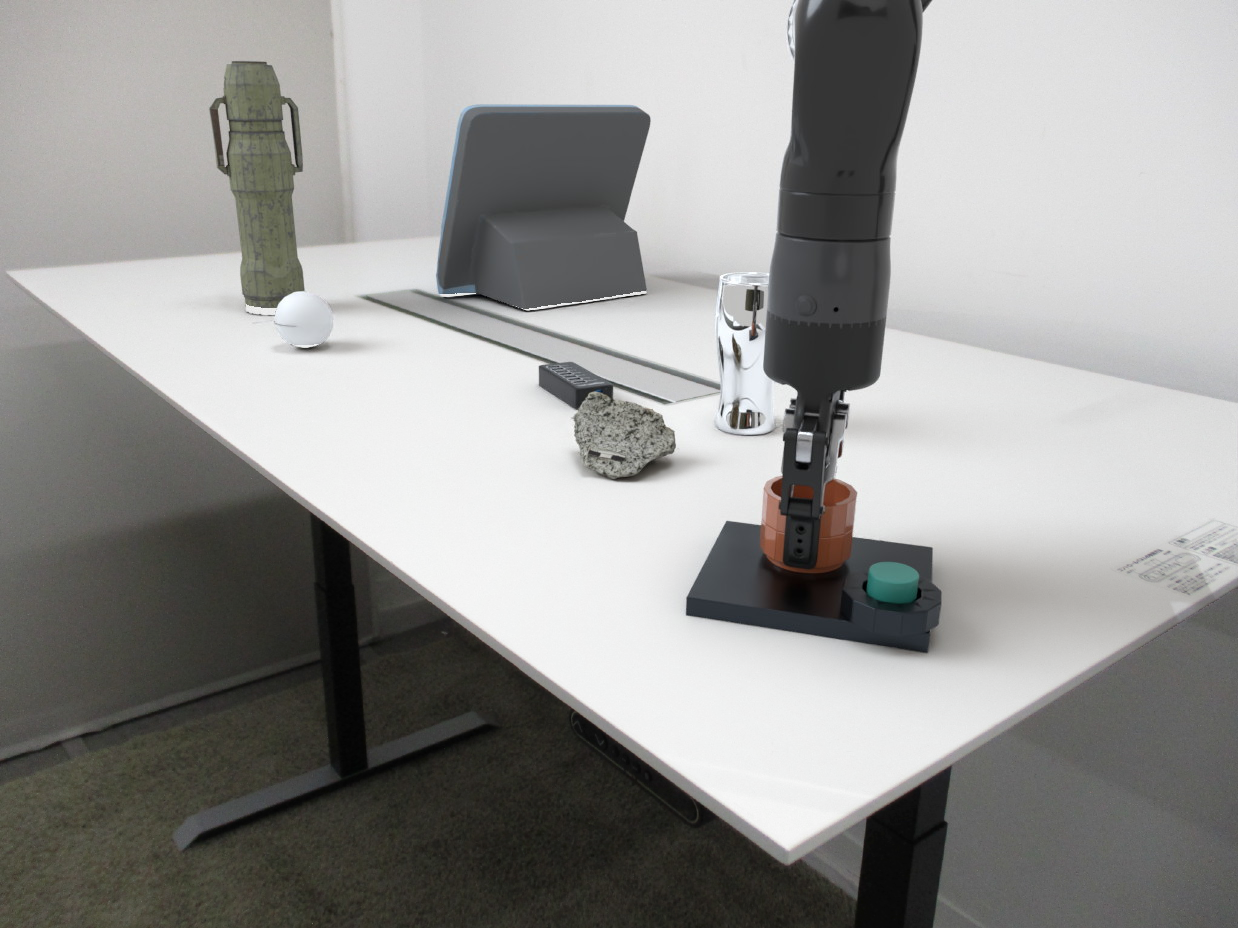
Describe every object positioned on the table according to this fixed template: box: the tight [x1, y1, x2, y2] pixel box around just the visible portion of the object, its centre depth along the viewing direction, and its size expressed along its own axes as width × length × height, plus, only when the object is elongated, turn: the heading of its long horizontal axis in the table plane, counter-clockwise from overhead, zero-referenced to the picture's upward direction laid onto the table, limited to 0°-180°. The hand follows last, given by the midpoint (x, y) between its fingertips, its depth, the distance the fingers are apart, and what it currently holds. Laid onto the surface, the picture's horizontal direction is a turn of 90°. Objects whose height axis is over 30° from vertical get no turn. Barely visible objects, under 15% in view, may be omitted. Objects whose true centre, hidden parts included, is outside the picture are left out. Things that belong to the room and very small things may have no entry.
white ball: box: [252, 290, 335, 345], centre depth 129 cm, size 10×7×7 cm
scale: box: [685, 520, 943, 654], centre depth 68 cm, size 15×14×3 cm
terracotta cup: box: [760, 475, 858, 573], centre depth 69 cm, size 6×6×5 cm
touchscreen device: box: [435, 103, 652, 309], centre depth 162 cm, size 35×20×30 cm, turn 130°
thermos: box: [208, 60, 306, 308], centre depth 147 cm, size 9×12×35 cm
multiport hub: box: [538, 361, 614, 410], centre depth 112 cm, size 4×11×2 cm, turn 27°
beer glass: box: [714, 271, 776, 436], centre depth 100 cm, size 7×7×15 cm
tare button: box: [867, 562, 919, 604], centre depth 62 cm, size 3×3×2 cm
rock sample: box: [570, 391, 679, 480], centre depth 90 cm, size 10×8×9 cm
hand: (806, 544), depth 70 cm, fingers closed on terracotta cup, 6 cm apart
